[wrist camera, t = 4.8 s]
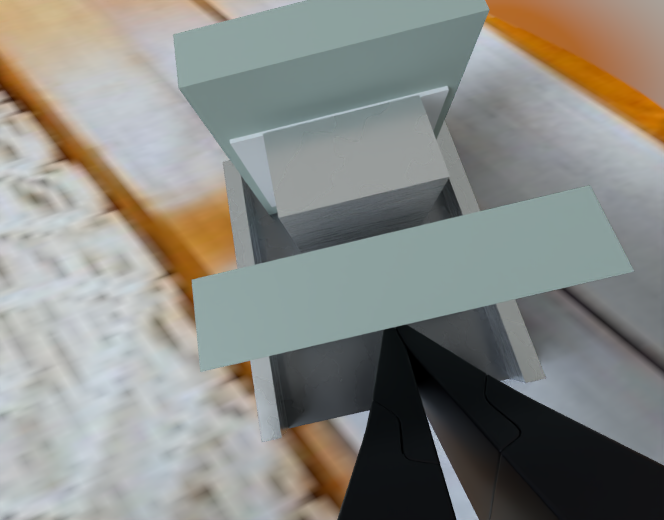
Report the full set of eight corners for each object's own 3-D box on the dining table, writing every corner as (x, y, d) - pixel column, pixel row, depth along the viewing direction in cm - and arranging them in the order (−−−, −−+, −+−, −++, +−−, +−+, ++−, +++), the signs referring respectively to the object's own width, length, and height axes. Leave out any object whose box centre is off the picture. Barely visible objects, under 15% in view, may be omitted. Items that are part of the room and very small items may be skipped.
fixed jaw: (421, 181, 19) (491, 14, 9) (269, 217, 19) (179, 93, 9) (410, 148, 19) (464, -40, 10) (263, 183, 19) (173, 34, 10)
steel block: (408, 246, 18) (449, 176, 10) (312, 269, 18) (278, 217, 10) (393, 195, 19) (419, 94, 11) (301, 217, 19) (262, 133, 11)
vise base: (526, 370, 16) (556, 375, 14) (267, 428, 17) (251, 444, 14) (437, 133, 21) (448, 106, 18) (231, 183, 21) (215, 164, 18)
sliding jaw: (468, 310, 16) (634, 271, 6) (292, 350, 16) (200, 371, 7) (453, 267, 17) (584, 174, 7) (284, 306, 17) (190, 268, 7)
